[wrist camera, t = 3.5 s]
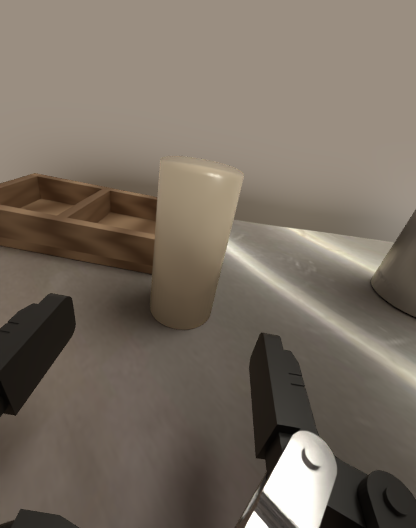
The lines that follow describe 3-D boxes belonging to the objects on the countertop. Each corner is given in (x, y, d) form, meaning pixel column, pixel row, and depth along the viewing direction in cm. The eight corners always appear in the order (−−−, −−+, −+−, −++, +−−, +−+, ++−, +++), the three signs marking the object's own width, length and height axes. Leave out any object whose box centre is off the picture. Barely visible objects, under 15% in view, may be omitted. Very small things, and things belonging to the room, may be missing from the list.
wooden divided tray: (179, 229, 36) (182, 202, 34) (158, 275, 26) (161, 240, 23) (39, 202, 35) (34, 173, 33) (-39, 238, 25) (-53, 199, 23)
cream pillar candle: (212, 293, 25) (242, 167, 18) (208, 335, 20) (246, 184, 14) (158, 283, 24) (170, 152, 18) (141, 322, 20) (149, 165, 14)
